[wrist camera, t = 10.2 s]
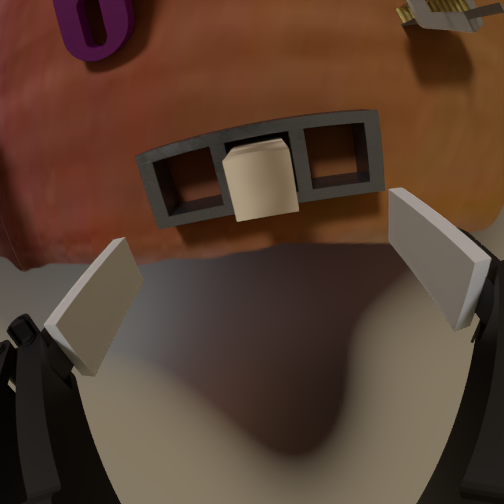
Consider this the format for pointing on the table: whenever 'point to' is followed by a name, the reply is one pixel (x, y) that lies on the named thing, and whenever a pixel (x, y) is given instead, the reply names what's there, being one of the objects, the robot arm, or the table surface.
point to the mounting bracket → (79, 33)
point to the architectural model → (446, 14)
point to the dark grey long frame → (306, 187)
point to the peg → (261, 178)
